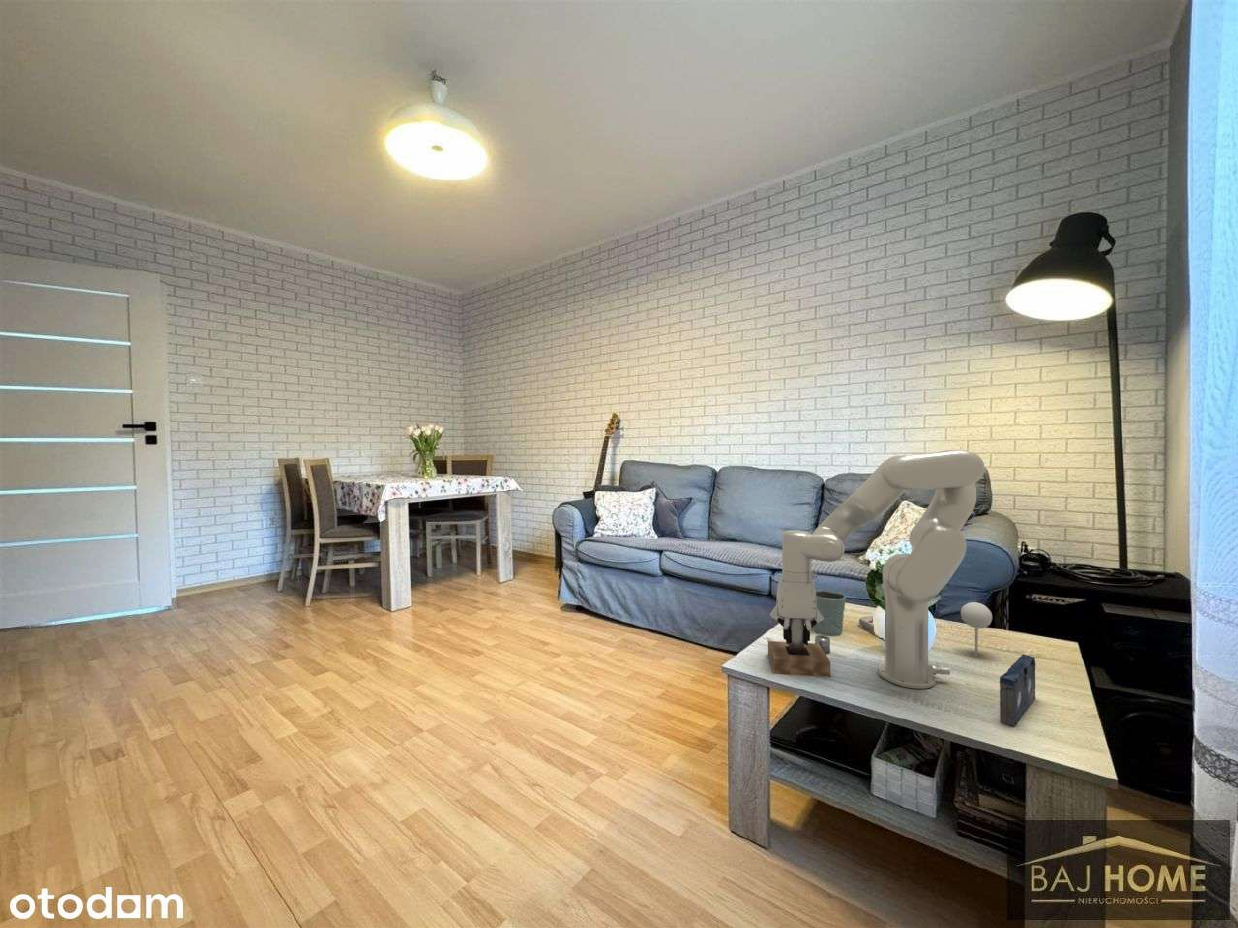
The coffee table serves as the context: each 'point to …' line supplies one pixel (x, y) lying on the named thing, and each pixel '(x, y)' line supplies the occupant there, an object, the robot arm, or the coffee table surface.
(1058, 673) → the coffee table surface
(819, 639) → the short pin
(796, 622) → the tall pin
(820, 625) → the grey green cup
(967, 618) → the lollipop
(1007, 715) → the vhs cassette tape
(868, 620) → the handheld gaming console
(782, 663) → the hole block
